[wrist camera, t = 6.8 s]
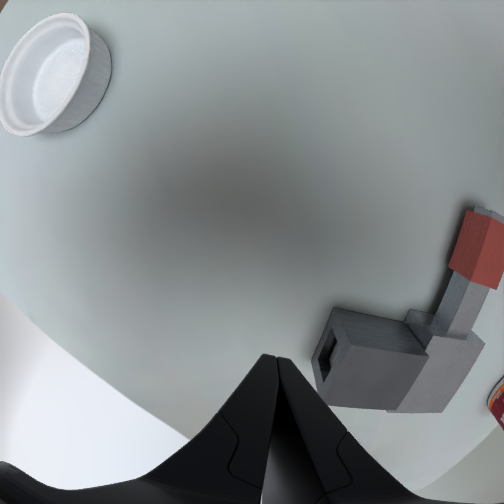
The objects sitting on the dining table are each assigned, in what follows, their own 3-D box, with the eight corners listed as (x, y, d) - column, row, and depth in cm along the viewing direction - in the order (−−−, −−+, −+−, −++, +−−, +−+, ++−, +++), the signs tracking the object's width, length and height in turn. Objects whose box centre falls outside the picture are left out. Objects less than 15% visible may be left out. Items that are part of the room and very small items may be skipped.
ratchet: (498, 220, 18) (530, 231, 14) (424, 385, 22) (441, 412, 19) (388, 168, 18) (416, 170, 14) (314, 372, 22) (321, 407, 18)
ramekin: (27, 146, 18) (-9, 148, 14) (37, 49, 15) (6, 37, 11) (116, 128, 18) (82, 122, 13) (126, 18, 15) (99, -6, 11)
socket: (402, 322, 20) (429, 356, 16) (377, 371, 22) (396, 410, 17) (333, 307, 20) (350, 344, 16) (311, 361, 22) (320, 404, 17)
